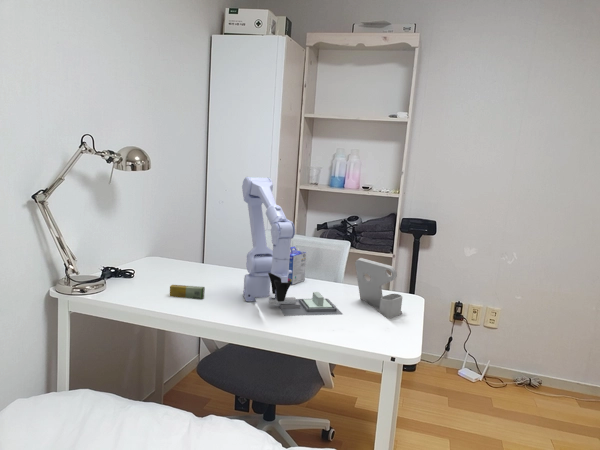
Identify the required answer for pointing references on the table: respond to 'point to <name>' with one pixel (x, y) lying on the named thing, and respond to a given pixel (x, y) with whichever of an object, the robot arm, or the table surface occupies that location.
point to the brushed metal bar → (287, 301)
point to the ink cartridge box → (297, 266)
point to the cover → (316, 301)
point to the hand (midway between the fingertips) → (278, 297)
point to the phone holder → (377, 287)
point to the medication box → (187, 291)
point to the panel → (303, 309)
